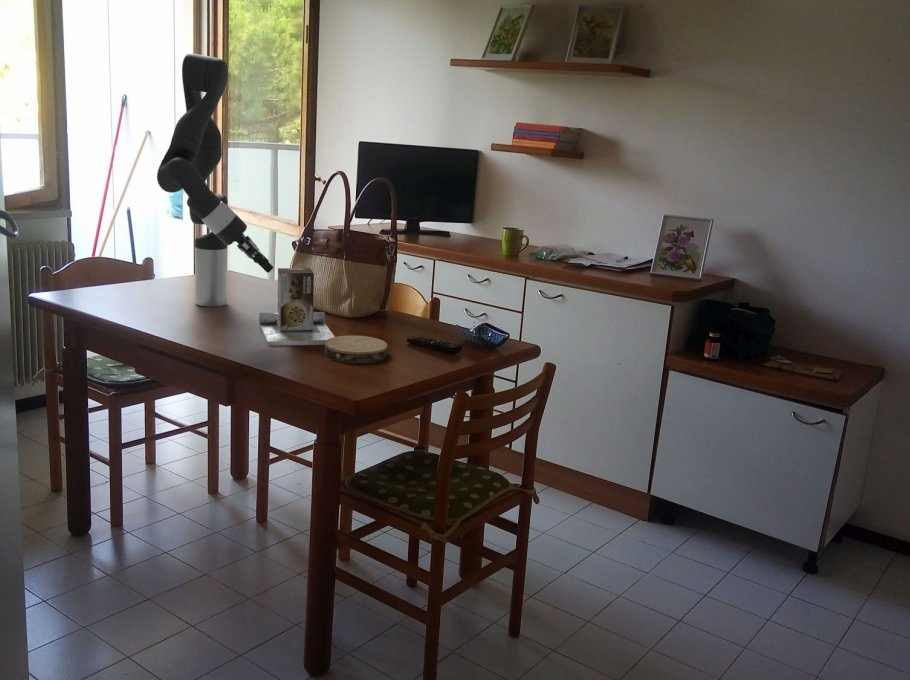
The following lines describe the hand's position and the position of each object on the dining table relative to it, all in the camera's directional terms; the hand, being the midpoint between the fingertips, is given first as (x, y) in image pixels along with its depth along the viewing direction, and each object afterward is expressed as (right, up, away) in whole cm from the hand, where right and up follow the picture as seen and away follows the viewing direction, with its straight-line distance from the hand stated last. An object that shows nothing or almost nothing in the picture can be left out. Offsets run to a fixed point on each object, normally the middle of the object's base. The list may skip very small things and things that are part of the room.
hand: (268, 267), depth 222 cm
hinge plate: (+7, -18, +5) cm, 20 cm away
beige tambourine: (+24, -23, -8) cm, 35 cm away
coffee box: (+6, -16, +7) cm, 19 cm away
